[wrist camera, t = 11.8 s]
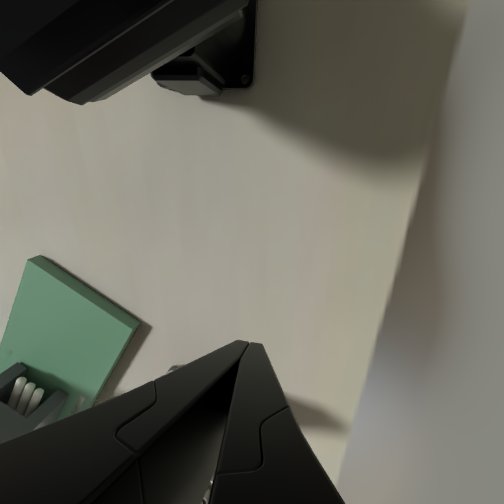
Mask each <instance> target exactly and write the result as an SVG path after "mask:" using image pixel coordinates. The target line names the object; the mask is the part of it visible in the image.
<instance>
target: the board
mask: <svg viewBox="0 0 504 504" xmlns="http://www.w3.org/2000/svg"><path fill="white" fill-rule="evenodd" d="M139 324H140V322H139V321H138V320H136V319H135V318H133V317H132V316H130V315H129V314H127V313H126V312H124V311H123V310H121V309H120V308H118V307H117V306H115V305H114V304H112V303H111V302H109V301H108V300H106V299H105V298H103V297H102V296H100V295H99V294H97V293H96V292H94V291H93V290H91V289H90V288H88V287H87V286H85V285H84V284H82V283H81V282H79V281H78V280H76V279H75V278H73V277H72V276H70V275H69V274H67V273H66V272H64V271H63V270H61V269H60V268H58V267H57V266H55V265H54V264H52V263H51V262H49V261H48V260H46V259H45V258H43V257H42V256H40V255H39V256H36V257H33V258H30V259H28V260H27V263H26V266H25V269H24V272H23V276H22V279H21V282H20V285H19V288H18V291H17V294H16V298H15V301H14V304H13V307H12V310H11V313H10V316H9V320H8V323H7V326H6V329H5V332H4V335H3V339H2V342H1V345H0V374H1V373H2V372H4V371H5V370H7V369H8V368H9V367H11V366H12V365H14V364H15V363H17V362H18V363H20V364H21V365H23V366H24V367H26V368H27V370H26V373H25V376H24V377H25V378H26V379H27V381H26V384H28V383H34V384H35V388H34V391H35V390H36V389H38V388H42V389H43V390H44V393H43V395H42V398H41V400H40V402H39V404H38V407H39V406H41V405H42V404H43V403H44V402H45V401H46V400H47V399H48V398H49V397H50V396H51V395H52V394H53V393H55V392H56V391H57V390H58V389H59V390H61V391H62V392H64V393H65V394H67V395H68V397H67V399H66V401H65V403H64V405H63V407H62V409H61V411H60V413H59V415H58V417H57V419H56V421H58V420H60V419H63V418H65V417H68V416H70V415H73V414H75V413H78V412H80V411H83V410H85V409H88V408H90V407H92V406H93V404H94V402H95V401H96V399H97V397H98V395H99V394H100V392H101V390H102V388H103V387H104V385H105V383H106V382H107V380H108V378H109V376H110V375H111V373H112V371H113V369H114V368H115V366H116V364H117V362H118V361H119V359H120V357H121V355H122V354H123V352H124V350H125V348H126V347H127V345H128V343H129V341H130V340H131V338H132V336H133V334H134V333H135V331H136V329H137V327H138V326H139ZM26 384H25V386H26ZM25 386H24V388H25ZM23 390H24V389H23ZM34 391H33V393H34ZM22 393H23V391H22ZM33 393H32V395H33ZM21 395H22V394H21ZM32 395H31V398H32ZM20 398H21V396H20ZM31 398H30V400H31ZM30 400H29V403H30ZM29 403H28V405H29ZM38 407H37V408H38Z"/></svg>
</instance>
